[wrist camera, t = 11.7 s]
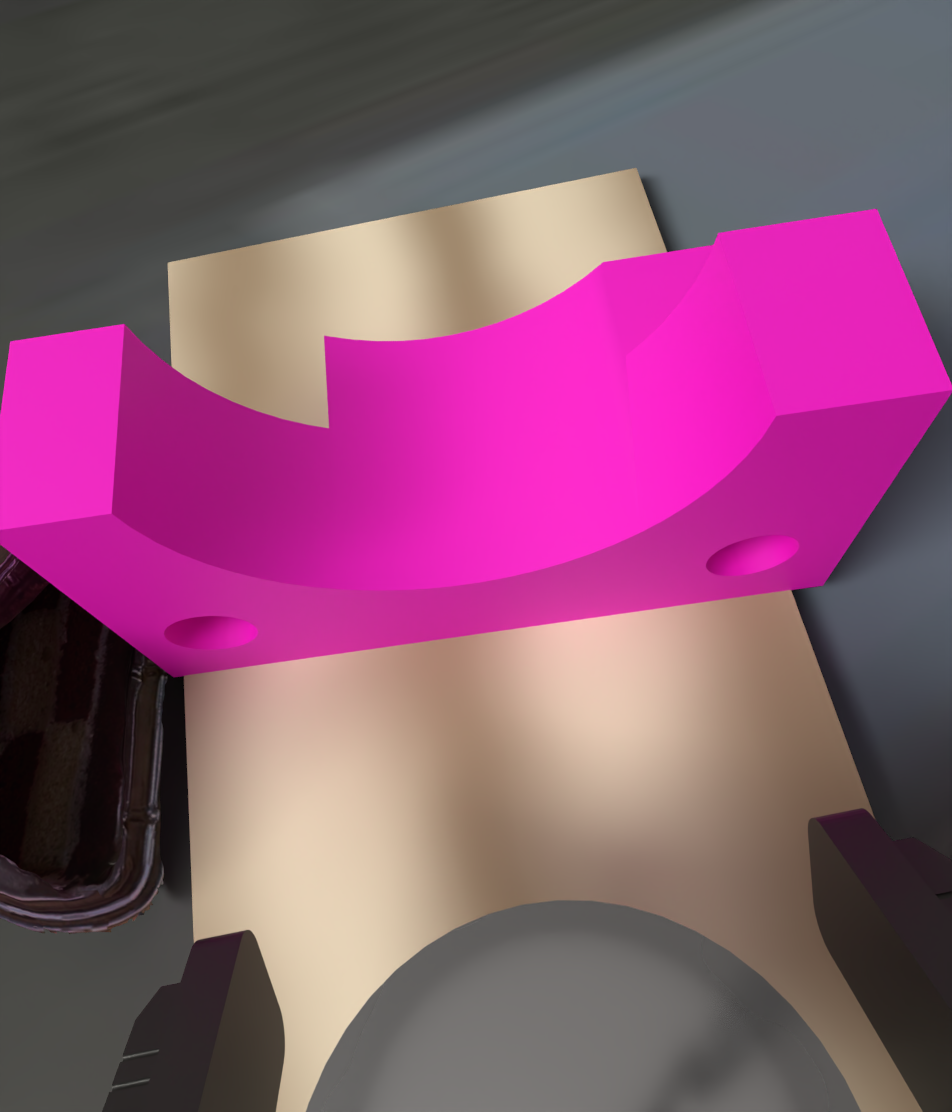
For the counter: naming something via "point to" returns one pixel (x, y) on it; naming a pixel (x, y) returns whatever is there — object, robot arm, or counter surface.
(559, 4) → the counter surface
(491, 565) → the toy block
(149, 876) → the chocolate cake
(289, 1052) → the beige piece
